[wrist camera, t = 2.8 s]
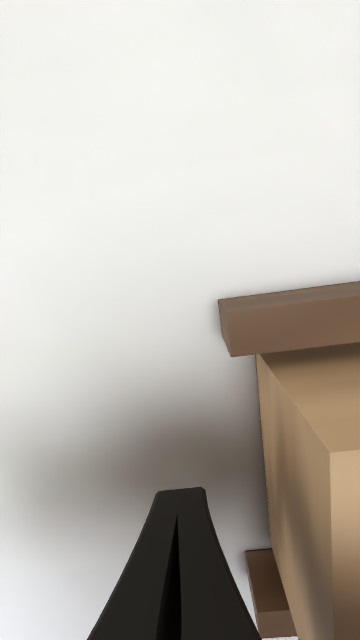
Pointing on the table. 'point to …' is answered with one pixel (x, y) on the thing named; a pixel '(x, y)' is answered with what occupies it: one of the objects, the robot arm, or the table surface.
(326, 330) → the bay
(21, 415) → the table surface
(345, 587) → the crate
